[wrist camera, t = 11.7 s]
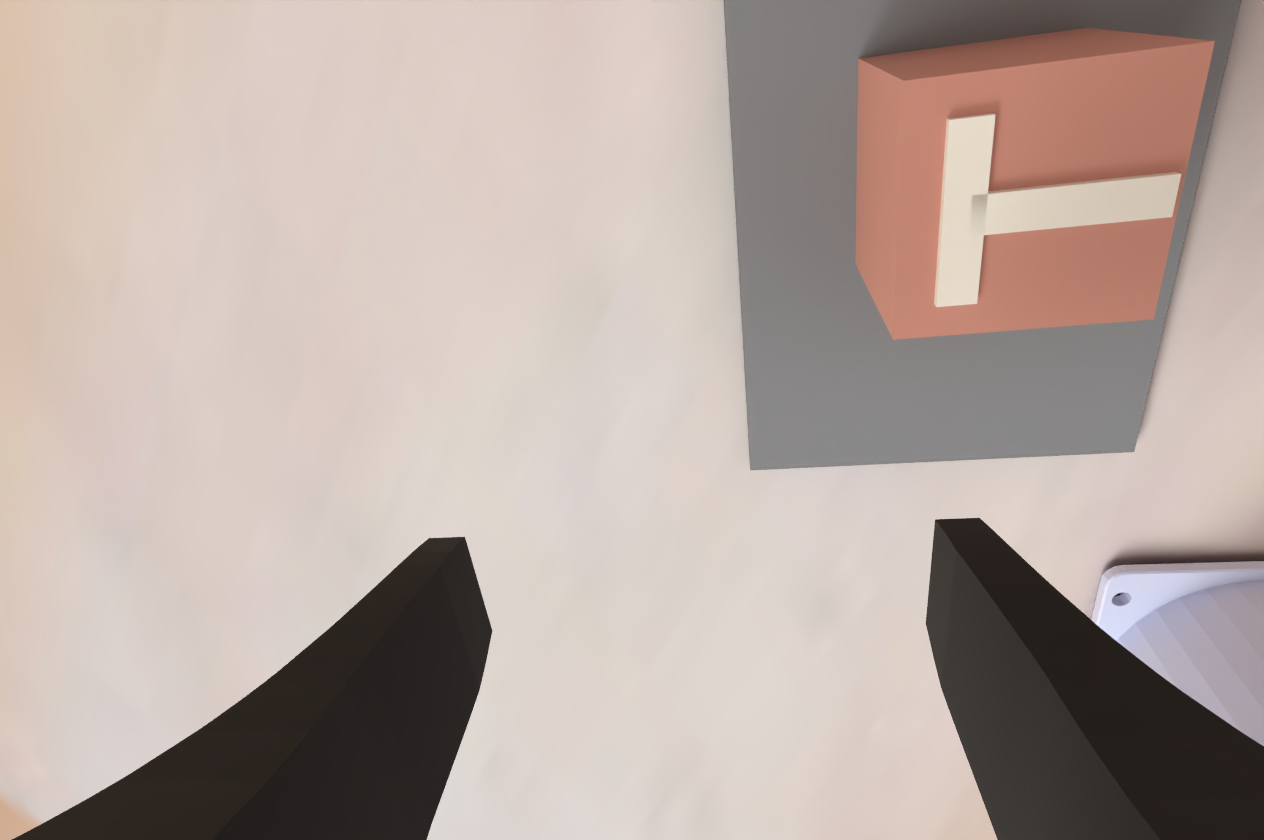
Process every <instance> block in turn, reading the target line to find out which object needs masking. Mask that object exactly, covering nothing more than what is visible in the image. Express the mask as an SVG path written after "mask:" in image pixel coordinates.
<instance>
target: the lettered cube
mask: <svg viewBox="0 0 1264 840" xmlns="http://www.w3.org/2000/svg"><path fill="white" fill-rule="evenodd" d="M1214 43H1215V41H1211V40H1201V39H1191V38H1182V37H1172V36H1162V35H1153V34H1143V33H1133V32H1124V31H1114V30H1104V29H1095V28H1082V29H1075V30H1067V31H1060V32H1052V33H1045V34H1038V35H1030V36H1023V37H1015V38H1008V39H1000V40H993V41H985V42H978V43H970V44H963V45H955V46H948V47H940V48H933V49H925V50H918V51H910V52H903V53H895V54H888V55H880V56H873V57H865V58H858V108H857V182H856V256H855V264H856V266H857V268H858V270H859V272H860V274H861V276H862V279H863V281H864V283H865V285H866V287H867V289H868V291H869V293H870V295H871V297H872V299H873V301H874V303H875V305H876V307H877V309H878V311H879V313H880V315H881V317H882V319H883V321H884V323H885V325H886V327H887V329H888V331H889V333H890V335H891V337H892V339H893V340H896V339H909V338H922V337H935V336H947V335H960V334H973V333H986V332H999V331H1012V330H1024V329H1037V328H1050V327H1063V326H1076V325H1088V324H1101V323H1114V322H1127V321H1140V320H1153V319H1154V315H1155V311H1156V306H1157V302H1158V297H1159V293H1160V288H1161V284H1162V279H1163V275H1164V270H1165V266H1166V261H1167V256H1168V252H1169V247H1170V243H1171V238H1172V234H1173V229H1174V225H1175V220H1176V216H1177V211H1178V207H1179V202H1180V198H1181V193H1182V188H1183V184H1184V179H1185V175H1186V170H1187V166H1188V161H1189V157H1190V152H1191V148H1192V143H1193V139H1194V134H1195V130H1196V125H1197V120H1198V116H1199V111H1200V107H1201V102H1202V98H1203V93H1204V89H1205V84H1206V80H1207V75H1208V71H1209V66H1210V61H1211V57H1212V52H1213V48H1214Z"/></svg>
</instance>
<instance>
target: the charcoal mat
mask: <svg viewBox="0 0 1264 840" xmlns="http://www.w3.org/2000/svg"><path fill="white" fill-rule="evenodd" d="M1240 4H1241V0H724V13H725V31H726V48H727V66H728V84H729V102H730V119H731V137H732V155H733V173H734V190H735V208H736V226H737V243H738V261H739V279H740V297H741V314H742V332H743V350H744V368H745V385H746V403H747V421H748V438H749V456H750V470H767V469H788V468H808V467H829V466H850V465H871V464H892V463H913V462H934V461H955V460H976V459H996V458H1017V457H1038V456H1059V455H1080V454H1101V453H1122V452H1134V450H1135V446H1136V442H1137V437H1138V433H1139V429H1140V425H1141V421H1142V416H1143V412H1144V408H1145V404H1146V400H1147V395H1148V391H1149V387H1150V383H1151V379H1152V374H1153V370H1154V366H1155V362H1156V357H1157V353H1158V349H1159V345H1160V341H1161V336H1162V332H1163V328H1164V324H1165V320H1166V315H1167V311H1168V307H1169V303H1170V298H1171V294H1172V290H1173V286H1174V282H1175V277H1176V273H1177V269H1178V265H1179V261H1180V256H1181V252H1182V248H1183V244H1184V240H1185V235H1186V231H1187V227H1188V223H1189V218H1190V214H1191V210H1192V206H1193V202H1194V197H1195V193H1196V189H1197V185H1198V181H1199V176H1200V172H1201V168H1202V164H1203V159H1204V155H1205V151H1206V147H1207V143H1208V138H1209V134H1210V130H1211V126H1212V122H1213V117H1214V113H1215V109H1216V105H1217V101H1218V96H1219V92H1220V88H1221V84H1222V79H1223V75H1224V71H1225V67H1226V63H1227V58H1228V54H1229V50H1230V46H1231V42H1232V37H1233V33H1234V29H1235V25H1236V20H1237V16H1238V12H1239V8H1240ZM1082 28H1095V29H1104V30H1114V31H1124V32H1133V33H1143V34H1153V35H1162V36H1172V37H1182V38H1191V39H1201V40H1211V41H1215V43H1214V48H1213V52H1212V57H1211V61H1210V66H1209V71H1208V75H1207V80H1206V84H1205V89H1204V93H1203V98H1202V102H1201V107H1200V111H1199V116H1198V120H1197V125H1196V130H1195V134H1194V139H1193V143H1192V148H1191V152H1190V157H1189V161H1188V166H1187V170H1186V175H1185V179H1184V184H1183V188H1182V193H1181V198H1180V202H1179V207H1178V211H1177V216H1176V220H1175V225H1174V229H1173V234H1172V238H1171V243H1170V247H1169V252H1168V256H1167V261H1166V266H1165V270H1164V275H1163V279H1162V284H1161V288H1160V293H1159V297H1158V302H1157V306H1156V311H1155V315H1154V319H1153V320H1140V321H1127V322H1114V323H1101V324H1088V325H1076V326H1063V327H1050V328H1037V329H1024V330H1012V331H999V332H986V333H973V334H960V335H947V336H935V337H922V338H909V339H896V340H893V339H892V337H891V335H890V333H889V331H888V329H887V327H886V325H885V323H884V321H883V319H882V317H881V315H880V313H879V311H878V309H877V307H876V305H875V303H874V301H873V299H872V297H871V295H870V293H869V291H868V289H867V287H866V285H865V283H864V281H863V279H862V276H861V274H860V272H859V270H858V268H857V266H856V264H855V256H856V182H857V108H858V58H865V57H873V56H880V55H888V54H895V53H903V52H910V51H918V50H925V49H933V48H940V47H948V46H955V45H963V44H970V43H978V42H985V41H993V40H1000V39H1008V38H1015V37H1023V36H1030V35H1038V34H1045V33H1052V32H1060V31H1067V30H1075V29H1082Z"/></svg>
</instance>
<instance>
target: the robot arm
mask: <svg viewBox="0 0 1264 840" xmlns="http://www.w3.org/2000/svg"><path fill="white" fill-rule="evenodd" d="M1118 593H1122V594H1121V595H1119V596H1115V595H1116V594H1118ZM1113 596H1115V597H1113ZM926 626H927V630H928V634H929V639H930V643H931V647H932V652H933V656H934V660H935V664H936V668H937V672H938V676H939V680H940V684H941V688H942V691H943V694H944V697H945V699H946V702H947V705H948V708H949V710H950V713H951V716H952V718H953V721H954V724H955V727H956V729H957V732H958V735H959V737H960V740H961V743H962V745H963V748H964V751H965V753H966V756H967V759H968V761H969V764H970V767H971V769H972V772H973V775H974V777H975V780H976V783H977V785H978V788H979V791H980V793H981V796H982V799H983V801H984V804H985V807H986V809H987V812H988V815H989V817H990V820H991V823H992V825H993V828H994V831H995V833H996V836H997V839H998V840H1264V561H1248V562H1212V563H1175V564H1139V565H1119V566H1114V567H1112V568H1110V569H1108V570H1107V571H1106V572H1105V573H1104V574H1103V575H1102V577H1101V580H1100V585H1099V589H1098V593H1097V597H1096V602H1095V606H1094V610H1093V614H1092V619H1090V618H1088V617H1087V616H1086V615H1085V614H1084V613H1083V612H1081V611H1080V610H1079V609H1078V608H1077V607H1076V606H1075V605H1073V604H1072V603H1071V602H1070V601H1069V600H1068V599H1067V598H1065V597H1064V596H1063V595H1062V594H1061V593H1060V592H1059V591H1057V590H1056V589H1055V588H1054V587H1053V586H1052V585H1051V584H1050V583H1049V582H1048V581H1046V580H1045V579H1044V578H1043V577H1042V576H1041V575H1040V574H1039V573H1038V572H1037V571H1036V570H1035V569H1034V568H1032V567H1031V566H1030V565H1029V564H1028V563H1027V562H1026V561H1025V560H1024V559H1023V558H1022V557H1021V556H1020V555H1019V554H1017V553H1016V552H1015V551H1014V550H1013V549H1012V548H1011V547H1010V546H1009V545H1008V544H1007V543H1006V542H1005V541H1004V540H1003V539H1002V538H1001V537H1000V536H998V535H997V534H996V533H995V532H994V531H993V530H992V529H991V528H990V527H989V526H988V525H987V524H986V523H984V522H983V521H982V520H981V519H980V518H966V519H939V520H935V529H934V540H933V551H932V562H931V573H930V584H929V595H928V606H927V617H926ZM491 634H492V629H491V625H490V622H489V618H488V615H487V611H486V608H485V605H484V601H483V598H482V594H481V591H480V588H479V584H478V581H477V577H476V574H475V570H474V567H473V564H472V560H471V557H470V553H469V550H468V547H467V543H466V540H465V537H452V538H429V539H428V540H426V541H425V542H424V543H423V544H422V545H420V546H419V547H418V548H417V549H416V550H415V551H414V552H412V553H411V554H410V555H409V556H408V557H407V558H406V559H405V560H404V561H403V562H402V563H400V564H399V565H398V566H397V567H396V568H395V569H394V570H393V571H392V572H391V573H390V574H389V575H388V576H386V577H385V578H384V579H383V580H382V581H381V582H380V583H379V584H378V585H377V586H376V587H375V588H374V589H372V590H371V591H370V592H369V593H368V594H367V595H366V596H365V597H364V598H363V599H361V600H360V601H359V602H358V603H357V604H356V605H355V606H354V607H353V608H352V609H350V610H349V611H348V612H347V613H346V614H345V615H344V616H343V617H342V618H341V619H340V620H338V621H337V622H336V623H335V624H334V625H333V626H332V627H331V628H329V629H328V630H327V631H326V632H325V633H323V634H322V635H321V636H320V637H319V638H317V639H316V640H315V641H314V642H313V643H312V644H310V645H309V646H308V647H307V648H306V649H304V650H303V651H302V652H301V653H300V654H298V655H297V656H296V657H295V658H294V659H293V660H291V661H290V662H289V663H288V664H287V665H285V666H284V667H283V668H282V669H281V670H279V671H278V672H277V673H276V674H274V675H273V676H272V677H271V678H269V679H268V680H267V681H266V682H264V683H263V684H262V685H260V686H259V687H258V688H256V689H255V690H254V691H252V692H251V693H250V694H249V695H247V696H246V697H245V698H243V699H242V700H240V701H239V702H238V703H236V704H235V705H233V706H232V707H231V708H229V709H228V710H226V711H225V712H224V713H222V714H221V715H220V716H218V717H217V718H215V719H214V720H213V721H211V722H210V723H208V724H207V725H205V726H204V727H202V728H201V729H200V730H198V731H197V732H195V733H193V734H192V735H190V736H189V737H187V738H186V739H184V740H183V741H181V742H179V743H178V744H176V745H175V746H173V747H172V748H170V749H168V750H167V751H165V752H164V753H162V754H161V755H159V756H158V757H156V758H154V759H153V760H151V761H150V762H148V763H147V764H145V765H143V766H142V767H140V768H139V769H137V770H136V771H134V772H133V773H131V774H129V775H128V776H126V777H124V778H123V779H121V780H119V781H118V782H116V783H114V784H112V785H111V786H109V787H107V788H106V789H104V790H102V791H100V792H99V793H97V794H95V795H93V796H92V797H90V798H88V799H87V800H85V801H83V802H81V803H79V804H78V805H76V806H74V807H72V808H70V809H68V810H67V811H65V812H63V813H61V814H59V815H58V816H56V817H54V818H52V819H50V820H48V821H47V822H45V823H43V824H41V825H39V826H37V827H35V828H34V829H32V830H30V831H28V832H26V833H24V834H22V835H20V836H18V837H16V838H15V839H12V840H426V839H427V836H428V833H429V830H430V827H431V824H432V821H433V818H434V816H435V813H436V810H437V807H438V804H439V802H440V799H441V796H442V793H443V791H444V788H445V785H446V782H447V780H448V777H449V774H450V771H451V769H452V766H453V763H454V760H455V758H456V755H457V752H458V749H459V747H460V744H461V741H462V738H463V735H464V733H465V730H466V727H467V724H468V721H469V718H470V716H471V713H472V710H473V707H474V704H475V701H476V698H477V695H478V692H479V689H480V685H481V681H482V677H483V672H484V668H485V664H486V659H487V654H488V649H489V644H490V639H491Z"/></svg>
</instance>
